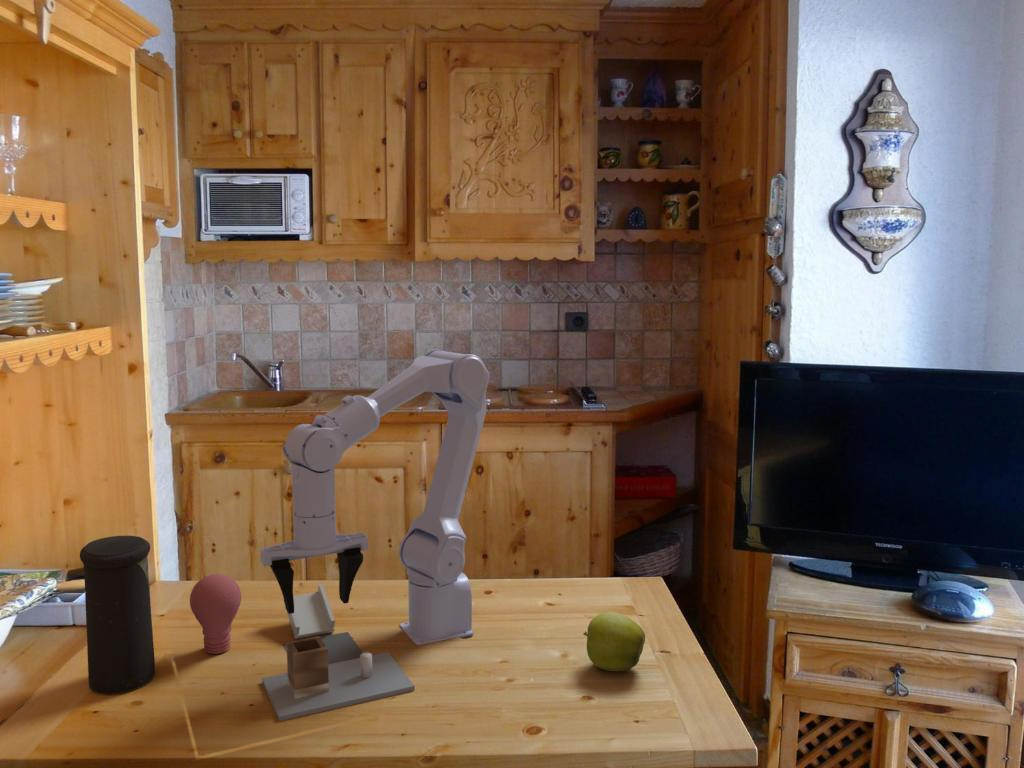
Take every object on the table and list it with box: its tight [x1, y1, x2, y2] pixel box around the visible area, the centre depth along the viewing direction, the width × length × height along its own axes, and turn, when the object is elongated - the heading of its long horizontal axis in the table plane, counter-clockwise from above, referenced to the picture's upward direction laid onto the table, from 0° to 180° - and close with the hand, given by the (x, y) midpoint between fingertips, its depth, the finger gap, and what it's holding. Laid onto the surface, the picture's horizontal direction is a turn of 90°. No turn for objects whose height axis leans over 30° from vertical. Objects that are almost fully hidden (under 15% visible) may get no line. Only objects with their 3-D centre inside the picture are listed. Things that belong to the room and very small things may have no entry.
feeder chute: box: [283, 583, 336, 640], centre depth 135 cm, size 6×8×6 cm
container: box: [79, 535, 156, 695], centre depth 118 cm, size 9×9×20 cm
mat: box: [282, 631, 364, 664], centre depth 128 cm, size 10×10×1 cm
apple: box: [582, 611, 646, 672], centre depth 124 cm, size 8×9×8 cm
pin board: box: [261, 652, 416, 722], centre depth 117 cm, size 18×11×4 cm, turn 117°
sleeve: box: [286, 635, 329, 699], centre depth 115 cm, size 4×4×6 cm
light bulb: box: [189, 573, 242, 655], centre depth 127 cm, size 7×7×12 cm
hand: (317, 605), depth 121 cm, fingers open, 7 cm apart
